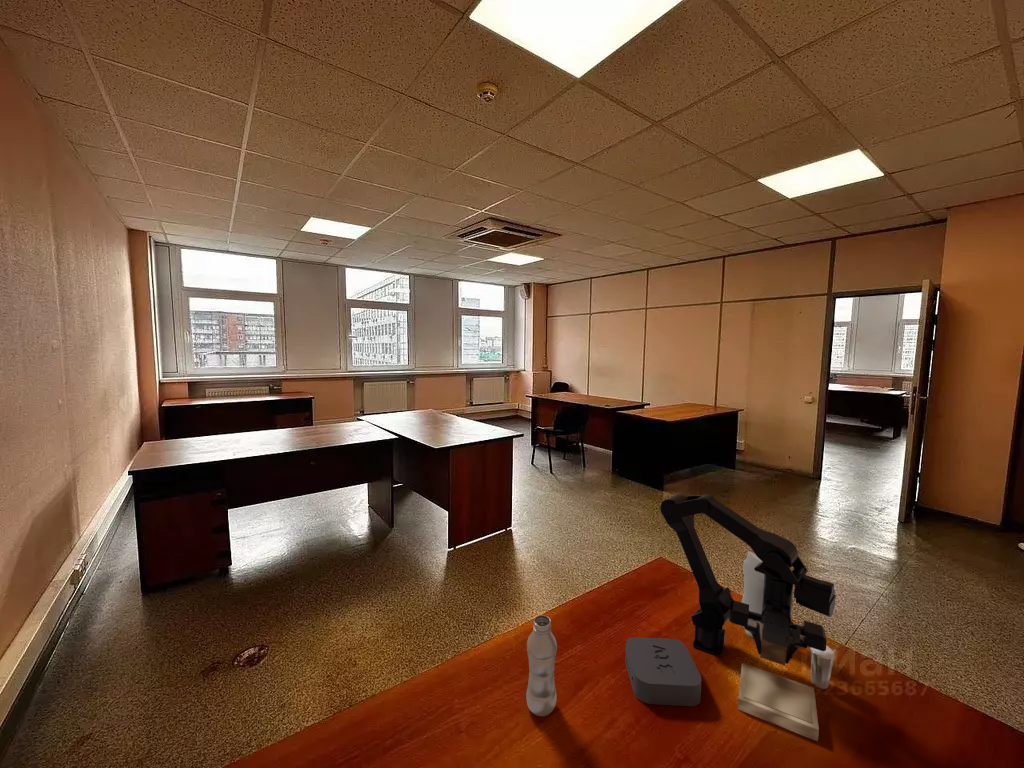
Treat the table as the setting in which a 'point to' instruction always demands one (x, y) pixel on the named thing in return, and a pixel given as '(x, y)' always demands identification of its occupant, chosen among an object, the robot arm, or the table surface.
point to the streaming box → (662, 672)
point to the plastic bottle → (541, 667)
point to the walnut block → (772, 651)
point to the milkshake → (821, 666)
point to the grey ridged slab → (752, 586)
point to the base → (778, 701)
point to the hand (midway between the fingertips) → (772, 657)
